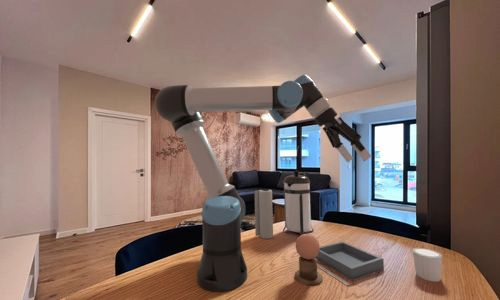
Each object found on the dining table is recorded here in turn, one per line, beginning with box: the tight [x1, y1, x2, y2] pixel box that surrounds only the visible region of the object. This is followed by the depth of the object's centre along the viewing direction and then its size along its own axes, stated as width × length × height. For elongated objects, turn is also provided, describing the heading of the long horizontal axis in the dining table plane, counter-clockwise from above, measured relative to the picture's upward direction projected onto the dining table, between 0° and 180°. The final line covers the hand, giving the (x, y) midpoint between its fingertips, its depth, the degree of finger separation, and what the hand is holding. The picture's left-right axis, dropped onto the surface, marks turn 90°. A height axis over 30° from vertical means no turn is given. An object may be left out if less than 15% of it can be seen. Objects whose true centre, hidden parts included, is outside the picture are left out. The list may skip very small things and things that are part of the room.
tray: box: [316, 241, 385, 282], centre depth 72 cm, size 14×16×4 cm
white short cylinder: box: [412, 247, 443, 282], centre depth 63 cm, size 7×7×7 cm
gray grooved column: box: [254, 189, 274, 240], centre depth 99 cm, size 7×6×21 cm
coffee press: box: [282, 169, 314, 236], centre depth 106 cm, size 17×16×30 cm
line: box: [317, 263, 351, 286], centre depth 69 cm, size 1×20×1 cm, turn 25°
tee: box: [294, 255, 324, 286], centre depth 64 cm, size 8×8×6 cm
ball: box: [295, 233, 321, 259], centre depth 64 cm, size 7×7×7 cm
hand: (358, 159), depth 76 cm, fingers open, 13 cm apart
